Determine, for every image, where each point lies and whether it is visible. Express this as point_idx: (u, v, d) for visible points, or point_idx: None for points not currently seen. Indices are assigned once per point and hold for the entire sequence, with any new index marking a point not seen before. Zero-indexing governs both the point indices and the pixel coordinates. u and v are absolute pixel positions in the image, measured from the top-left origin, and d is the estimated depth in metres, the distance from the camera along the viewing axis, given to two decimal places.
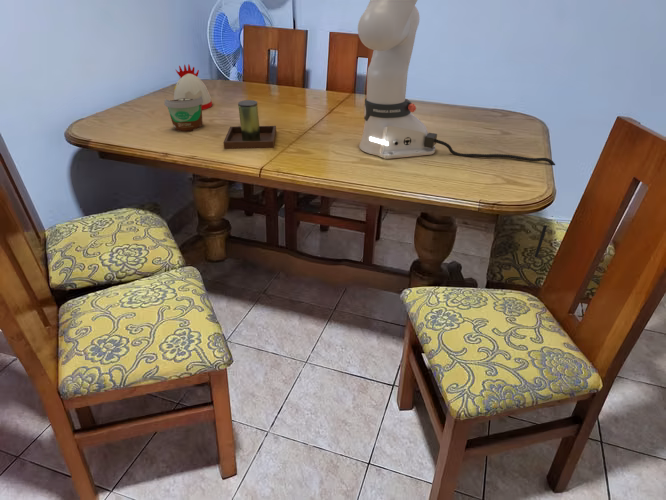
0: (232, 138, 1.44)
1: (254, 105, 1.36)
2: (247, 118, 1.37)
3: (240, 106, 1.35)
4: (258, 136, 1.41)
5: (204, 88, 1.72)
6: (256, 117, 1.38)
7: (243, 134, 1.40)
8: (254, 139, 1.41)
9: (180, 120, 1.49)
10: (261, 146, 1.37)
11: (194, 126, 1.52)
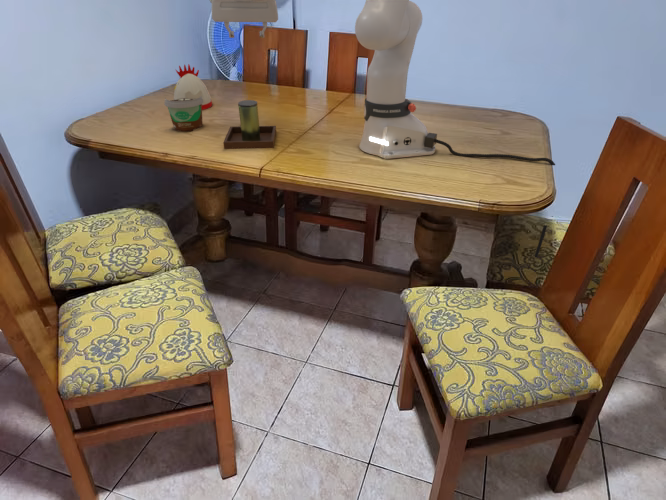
0: (232, 138, 1.44)
1: (254, 105, 1.36)
2: (247, 118, 1.37)
3: (240, 106, 1.35)
4: (258, 136, 1.41)
5: (204, 88, 1.72)
6: (256, 117, 1.38)
7: (243, 134, 1.40)
8: (254, 139, 1.41)
9: (180, 120, 1.49)
10: (261, 146, 1.37)
11: (194, 126, 1.52)
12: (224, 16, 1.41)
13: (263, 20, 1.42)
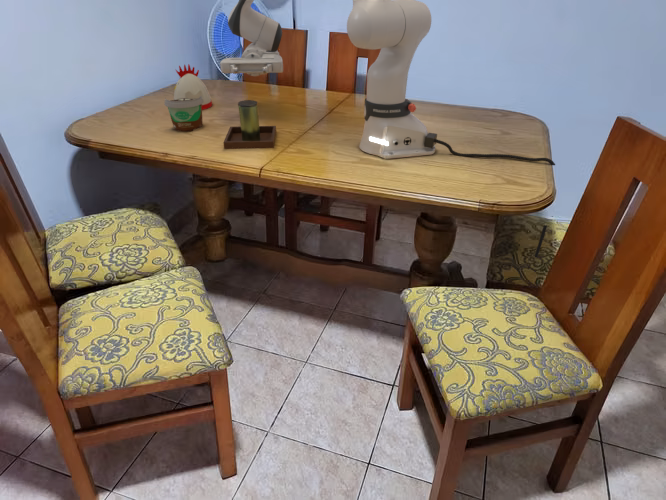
0: (232, 138, 1.44)
1: (254, 105, 1.36)
2: (247, 118, 1.37)
3: (240, 106, 1.35)
4: (258, 136, 1.41)
5: (204, 88, 1.72)
6: (256, 117, 1.38)
7: (243, 134, 1.40)
8: (254, 139, 1.41)
9: (180, 120, 1.49)
10: (261, 146, 1.37)
11: (194, 126, 1.52)
12: (232, 60, 1.49)
13: (268, 61, 1.49)
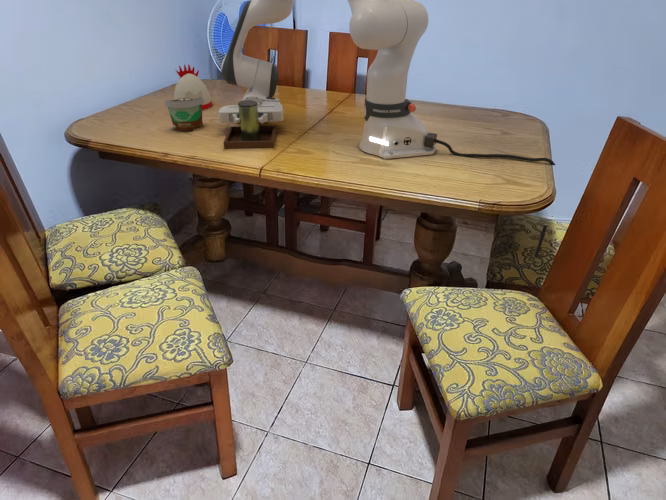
0: (232, 138, 1.44)
1: (254, 105, 1.36)
2: (247, 118, 1.37)
3: (240, 106, 1.35)
4: (258, 136, 1.41)
5: (204, 88, 1.72)
6: (256, 117, 1.38)
7: (243, 134, 1.40)
8: (254, 139, 1.41)
9: (180, 120, 1.49)
10: (261, 146, 1.37)
11: (194, 126, 1.52)
12: (230, 109, 1.43)
13: (268, 110, 1.43)
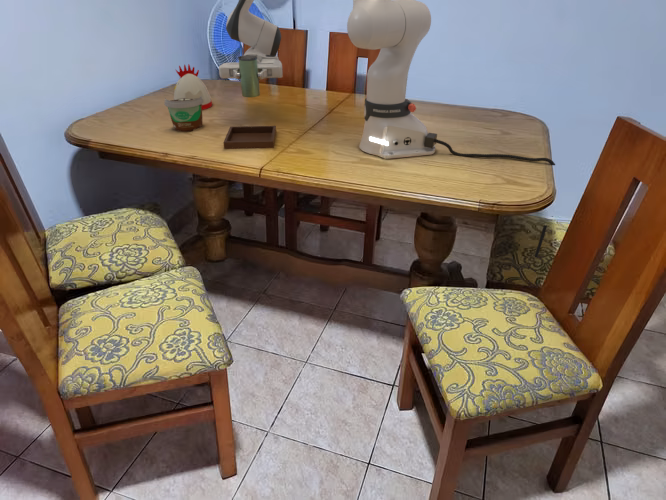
0: (232, 138, 1.44)
1: (254, 59, 1.40)
2: (247, 72, 1.41)
3: (240, 60, 1.39)
4: (258, 91, 1.45)
5: (204, 88, 1.72)
6: (256, 71, 1.42)
7: (243, 88, 1.44)
8: (254, 94, 1.45)
9: (180, 120, 1.49)
10: (261, 146, 1.37)
11: (194, 126, 1.52)
12: (230, 65, 1.47)
13: (267, 66, 1.47)
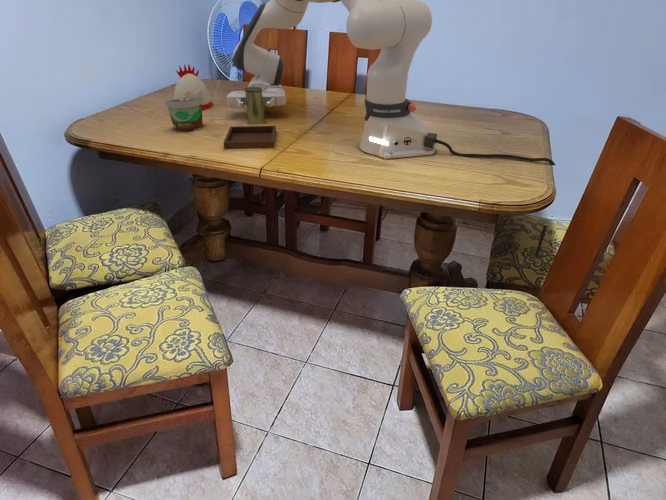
0: (232, 138, 1.44)
1: (259, 91, 1.52)
2: (252, 102, 1.53)
3: (247, 91, 1.51)
4: (262, 119, 1.57)
5: (204, 88, 1.72)
6: (261, 102, 1.54)
7: (249, 117, 1.56)
8: (259, 122, 1.56)
9: (180, 120, 1.49)
10: (261, 146, 1.37)
11: (194, 126, 1.52)
12: (238, 94, 1.59)
13: (272, 95, 1.58)
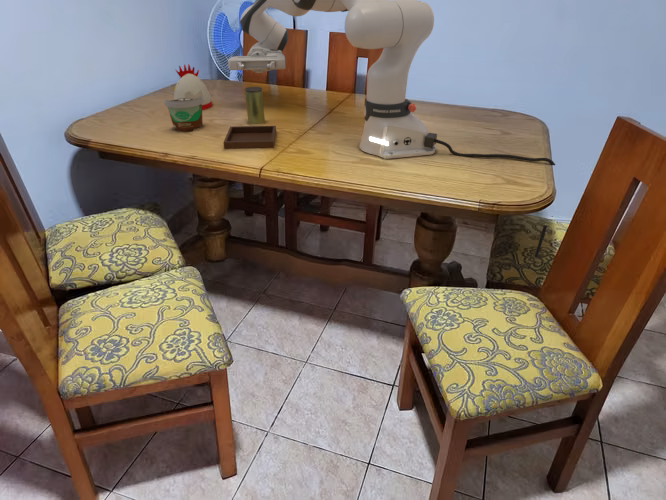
0: (232, 138, 1.44)
1: (259, 91, 1.52)
2: (252, 102, 1.53)
3: (247, 91, 1.51)
4: (262, 119, 1.57)
5: (204, 88, 1.72)
6: (261, 102, 1.54)
7: (249, 117, 1.56)
8: (259, 122, 1.56)
9: (180, 120, 1.49)
10: (261, 146, 1.37)
11: (194, 126, 1.52)
12: (238, 58, 1.63)
13: (272, 58, 1.62)
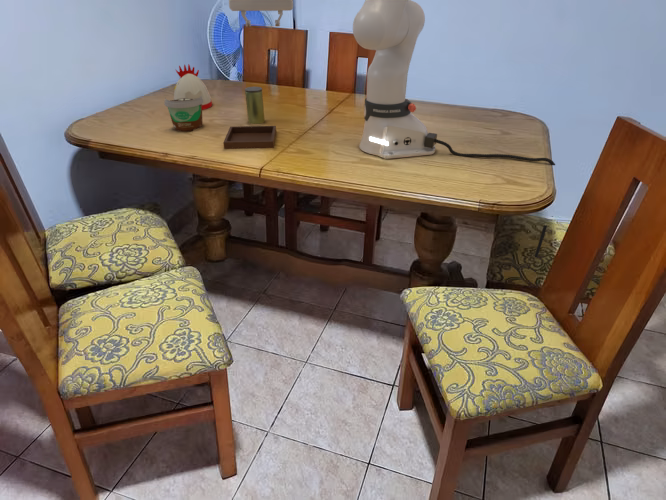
0: (232, 138, 1.44)
1: (259, 91, 1.52)
2: (252, 102, 1.53)
3: (247, 91, 1.51)
4: (262, 119, 1.57)
5: (204, 88, 1.72)
6: (261, 102, 1.54)
7: (249, 117, 1.56)
8: (259, 122, 1.56)
9: (180, 120, 1.49)
10: (261, 146, 1.37)
11: (194, 126, 1.52)
12: (241, 5, 1.45)
13: (278, 8, 1.46)
